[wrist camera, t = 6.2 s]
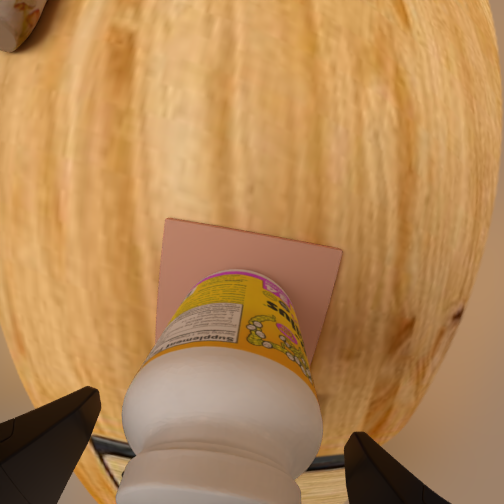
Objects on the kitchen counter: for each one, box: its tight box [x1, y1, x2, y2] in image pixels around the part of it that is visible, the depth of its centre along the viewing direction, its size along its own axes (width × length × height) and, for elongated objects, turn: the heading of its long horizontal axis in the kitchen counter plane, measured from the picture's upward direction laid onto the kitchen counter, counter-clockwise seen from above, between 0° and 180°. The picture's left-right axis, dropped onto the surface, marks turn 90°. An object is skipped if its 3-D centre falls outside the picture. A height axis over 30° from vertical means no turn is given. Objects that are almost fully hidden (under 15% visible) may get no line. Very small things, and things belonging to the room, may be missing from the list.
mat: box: [155, 218, 343, 367], centre depth 17 cm, size 10×10×1 cm
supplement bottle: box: [116, 269, 323, 504], centre depth 11 cm, size 7×7×13 cm
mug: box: [0, 0, 47, 52], centre depth 10 cm, size 8×10×10 cm
